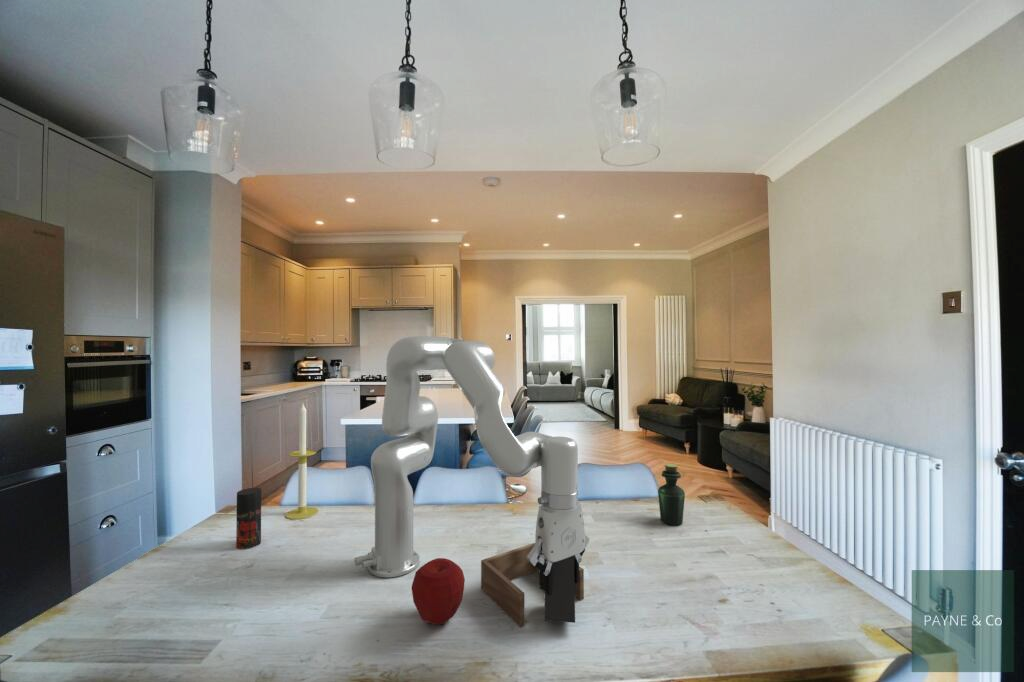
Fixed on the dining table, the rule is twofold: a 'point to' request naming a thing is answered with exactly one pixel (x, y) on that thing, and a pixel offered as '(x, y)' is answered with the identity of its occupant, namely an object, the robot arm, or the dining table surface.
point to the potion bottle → (671, 497)
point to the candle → (302, 472)
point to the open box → (508, 568)
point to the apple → (438, 590)
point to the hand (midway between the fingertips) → (559, 584)
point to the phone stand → (561, 592)
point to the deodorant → (248, 518)
